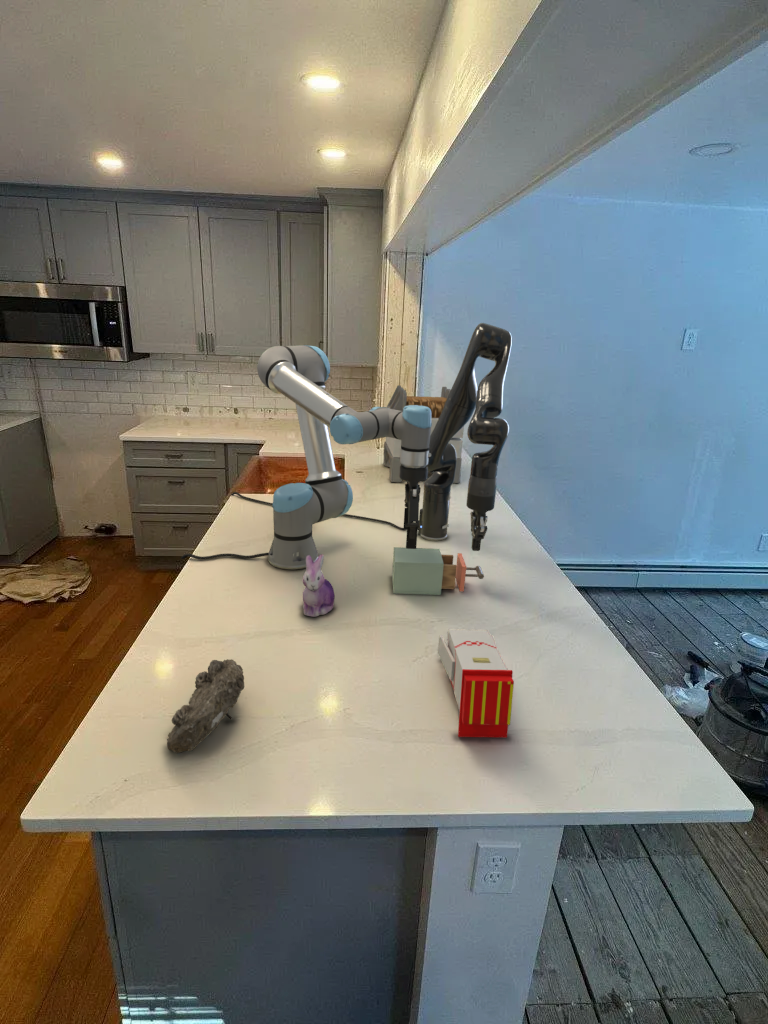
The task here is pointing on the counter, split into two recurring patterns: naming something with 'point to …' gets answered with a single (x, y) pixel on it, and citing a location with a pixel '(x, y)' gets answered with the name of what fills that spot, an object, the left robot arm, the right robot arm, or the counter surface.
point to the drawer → (457, 572)
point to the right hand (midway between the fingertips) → (475, 549)
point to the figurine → (316, 589)
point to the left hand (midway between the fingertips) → (409, 538)
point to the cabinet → (417, 571)
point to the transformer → (436, 405)
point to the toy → (478, 682)
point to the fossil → (206, 705)
